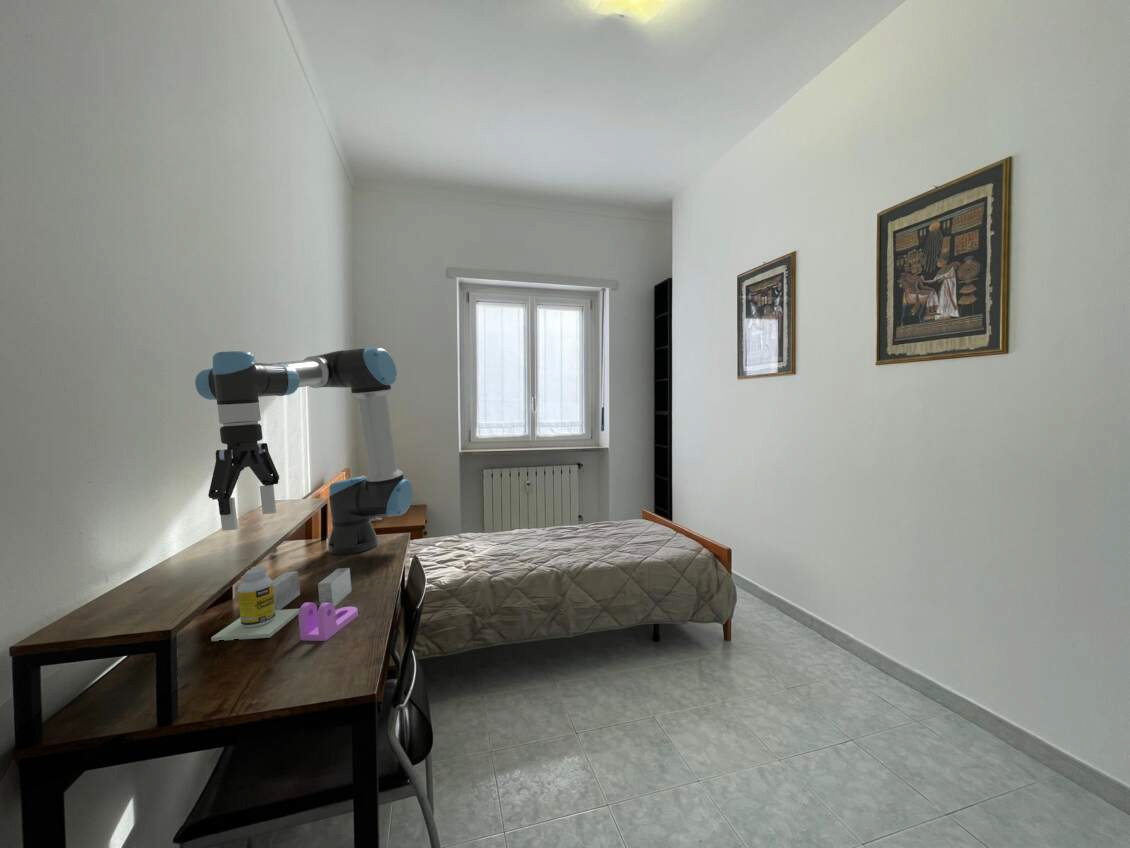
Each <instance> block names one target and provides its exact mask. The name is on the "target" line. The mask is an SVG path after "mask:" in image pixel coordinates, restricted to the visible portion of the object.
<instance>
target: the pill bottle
mask: <svg viewBox="0 0 1130 848" xmlns="http://www.w3.org/2000/svg"><path fill="white" fill-rule="evenodd" d="M250 568H251V567H250ZM267 573H268V571H267V567H266V566H265V565H258V566H253V567H252V568H251V569H250V570H248V571H247V572H246V573H245V574H244V575H243V576H240V578H241V580H242V582H241V583H239V585H238V586H237V596H238V597H237V599H238V607H239V618H240V619H241V625H242V626H244V627H257V626H260V625H264V624H266V623H268V622H270V621H272V620H273V619H274V618H275V615H276V613H275V602H274V592H273V582H272V581H273V579H272V578H270V577H269V576H266V575H267Z"/></svg>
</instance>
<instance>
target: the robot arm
mask: <svg viewBox="0 0 1130 848" xmlns="http://www.w3.org/2000/svg"><path fill="white" fill-rule="evenodd" d="M396 380H397V367H396V363H395V360H394V359H393V357H392V355H391V354H390V353H389V352H388V351H387V350H386V349H384V348H382V347H366V348H365V347H364V348H356V349H345V350H343V349H342V350H336V351H331V352H327V353H324V354H317V355H311V356H307V357H305V358H304V359H303V360H293V361H282V362H272V363H265V362H264V363H263V362H262V363H261V362H256V359H255V355H254V354H253V353H252V352H249V351H244V350H243V351H239V350H233V351H232V350H231V351H230V350H228V351H219V352H216V353H214V354H213V356H212V367H210V368H207V369H202V370H201V371H200V372H198V373H197V375H196V376H195V380H194V383H195V388H196V392H197V393H198V394H199V396H201V397H202V398H204V399H206V400H210V401H211V400H212V401H213V400H216V404H217V413H218V423H219V424H221V425H222V426H220V428H219V434H220V442H221V443H222V444H224V445H226V449H217V450H216V451H215V463H214V467H213V472H212V476H211V477H212V478H211V481H210V485H209V488H208V489H209V490H208V495H207V496H208V498H209V499H212V500H213V501H215V500H217V503H218V504H217V505H218V511H219V515H220V523H221V531H237V530H239V528H238V527H239V526H238V518H237V517H238V516H237V506H236V500H235V499H236V498H235V497H232V495H233V494H234V493H233V492H234V490H235V487H236V485H237V483H238V480H239V477H240V474H241V473H242V471H244V470H245V468H248V467H249V469H250V470H251V471H252V473H253V474H254V475H255V476H256V478H257V479H258V481H259V482H260V483H261V485H259V493H260V494H259V495H260V501H261V503H260V504H261V512H262V515H271V514H276V513H277V508H276V497H275V488H274V485H278V484H279V480H280V475H279V473H278V471H277V469H276V466H275V464H274V461H273V458H272V457H271V455H270V452H269V447H268V443H267V442H262V443H259V442H260V441H262V440H263V438H264V437H263V428H262V425H261V423H259V422H260V421H262V417H261V411H260V401H259V397H260V398H262V397H276V396H277V397H283V396H289V395H292V394H294V393H295V392H296V391H297V390H298V389H299V388H305V387H309V388H312V389H319V388H350V390H351V394H352V395H353V396H354V397H356V398H357V400H358V401H357V402H358V407H359V414H360V421H361V422H360V423H361V427H362V433H363V434H362V435H363V442H364V448H365V454H366V459H367V469H368V473H367V475H362V476H355V477H351V478H345V479H341V480H338V481H334V482H332V483H331V484H330V485H329V489H328V490H329V491H328V492H329V495H328V498H329V506H330V515H331V525H332V526H331V527H332V528H331V531H330V537H329V540H328V543H327V544H328V545H327V551H328V553H329V554H332V555H335V556H336V555H338V556H339V555H352V554H357V553H361V552H366V551H368V550H371V549H373V548H375V547H376V546H378V544H379V541H378V540H379V539H378V535H377V534H376V533H377V532H376V531H375V529H374V527H373V525H372V522H371V517H391V518H392V517H395V516H397V517H399V516H403V515H404V514H405V513H406V512H407V511H408V510H409V509H410V507H411V504H412V501H413V498H414V497H413V496H414V495H413V494H414V489H413V487H414V486H413V484H412V483H411V480H409V479H406V478H404V472H403V471H402V470H401V469H399V468H398V465H397V456H396V450H395V444H394V443H395V442H394V437H393V436H394V435H393V430H392V429H393V428H392V423H391V416H390V408H389V401H388V400H389V399H388V394H389V393H390V392H391V391H392V387H391V386H392V384H395V382H396ZM365 550H366V551H365Z"/></svg>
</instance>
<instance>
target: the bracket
mask: <svg viewBox="0 0 1130 848" xmlns="http://www.w3.org/2000/svg"><path fill="white" fill-rule="evenodd" d="M299 609H300V610H299V614H298V615H297V616H298V623H299V624H298V625H299V635H300V641H313V642H314V641H315V642H316V641H317V642H320V641H322V642H327V640H329V639H330V638H331V637H333V636H334V635H335V634H337V633H338V632H339V631H340V630H342V629H343V628H344V627H346V626H347V625H348V624H349V623H351V622H352V621H354V620H355V619H356V618H357V617H358V615H359V614H358V613H359V612H358V608H357V607H356V606H345V607H340V608H337V609H336V606H334V604H333V603H322V604H321V605H320V604H319V607H318V606H317V604H316V603H315V602H304V603H303V604H302V605H301V606H300V608H299Z"/></svg>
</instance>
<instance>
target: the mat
mask: <svg viewBox="0 0 1130 848" xmlns="http://www.w3.org/2000/svg"><path fill="white" fill-rule="evenodd" d="M299 610H300V608H290V609H289V608H288V609H287V608H286V609H280V610H275V613H276V615H275V618H274V619H273V620H272V621H270V622H268V623H266V624H264V625H260V626H257V627H244V626H242V625H241V619H240V617H238V618H237V619H236V620H234V621H233V622H232V623H230V624H229V625H227V626H226V627H224V628H223V629H222V630H220V631H219V632H217V633H216V634H214V635H213V636H211V639H210V640H211V642H220V641H219V640H224V641H235V640H234V639H239V640H250V639H251V640H252V639H266V638H268V639H269V638H271V637H272V636H274V635H275V634H276V633H277V632H279V631H280V630H281V629H282V628H284V626H286V625H287V624H288V623H289V622H291V621H292V620H293V619H294V618H295V617H296V616H298V614H299Z"/></svg>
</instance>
